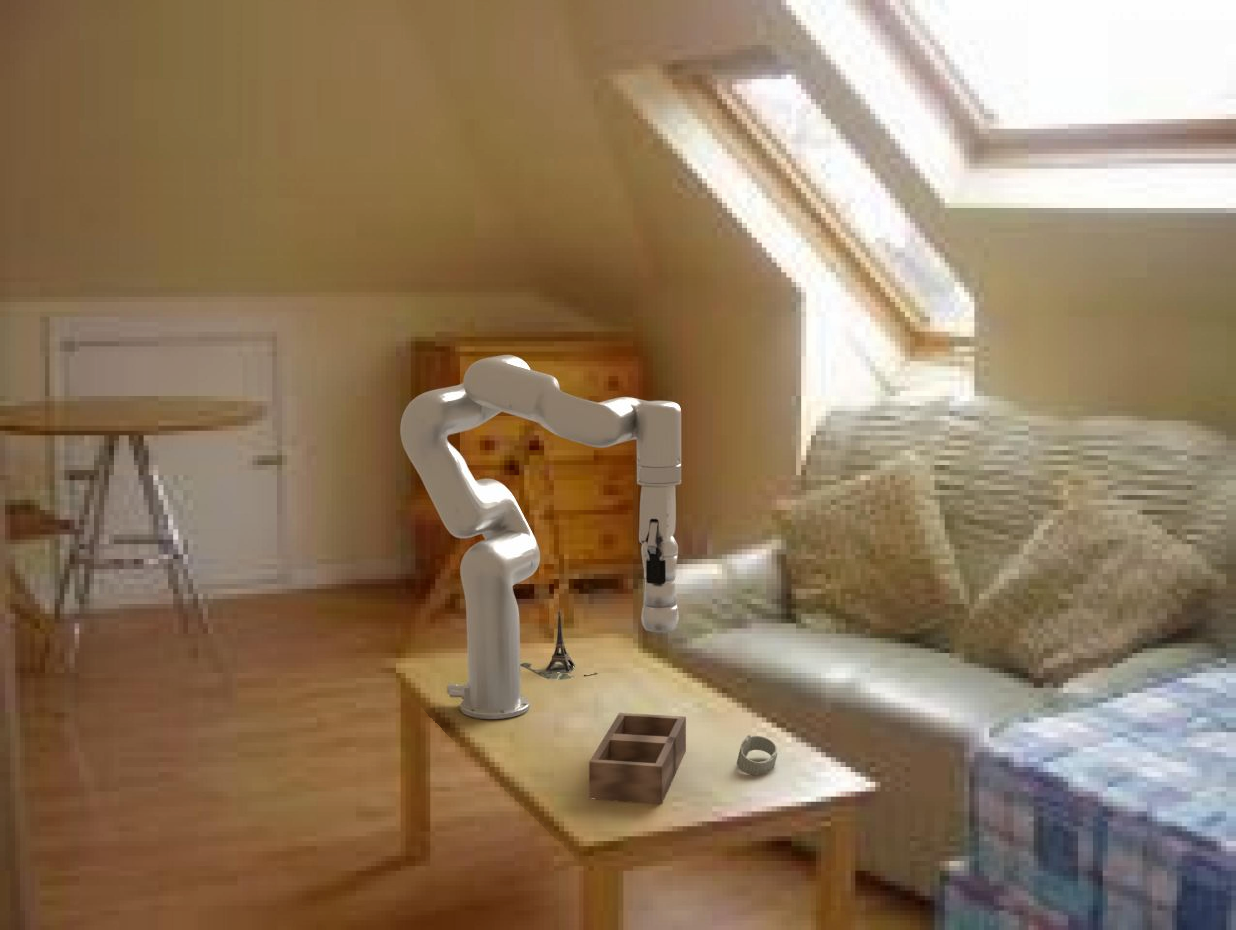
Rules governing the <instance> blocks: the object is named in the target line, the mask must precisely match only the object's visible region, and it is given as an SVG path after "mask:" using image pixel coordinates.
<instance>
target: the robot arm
mask: <svg viewBox="0 0 1236 930" xmlns="http://www.w3.org/2000/svg"><path fill="white" fill-rule="evenodd" d="M462 381H463V382H462V383H460V384H458V385H452V386H447V387H442V388H436V389H433V390H429V391H425V392H423V393H421V394H419V395H417V396H416V397H415V398H414V399H412V400H411V401H410V402H409V403H408V405H407V406H406V408H405V410H404V411H403V413H402V415H401V416H402V417H401V421H400V428H399V429H400V430H399V432H400V438H401V439H400V440H401V443H402V447H403V449H404V451H405V452H406V455H407V457H408V459H409V460H410V463H412V465H413V467H414V468H415V470H416V472H417V474H418V475H419V477H420V479H421V481H422V484H423V486H424V487H425V490H426V492H427V493H428V496H429V497H430V499H431V501H432V503H433V505H434V508H435V509H436V512H437V513H438V515H439V518H440V520H441V521H442V524H443V525H444V527H445V528H446V530H447V531H448V533H450V535H451V536H453V537H455V538H458V539H469V538H472V537H476V536H479V535H482V537H483V538H484V539H483V540H481V541H478V542H476V543H475V544H473V545H472V546H470V547H469V548H468V549H467V550H466V552H465V553H464V555H463V557H462V559H461V562H460V567H459V568H460V569H459V570H460V571H459V573H460V580H461V584H462V589H463V594H464V599H465V600H464V601H465V611H466V617H465V618H466V635H467V636H466V639H467V641H466V642H467V643H466V644H467V669H468V670H467V671H468V672H467V673H468V674H467V675H468V677H467V679H468V682H465V683H464V684H459V683H448V684H447V687H446V691H447V692H446V693H447V694H448V695H449V697H450V698H461V699H462V700H461V702H460V711H461V712H462V714H464V715H466V716H467V717H471V718H475V719H482V720H483V719H484V720H499V719H501V720H502V719H503V720H504V719H509V718H514V717H517V716H520V715H523V714H525V713H526V712H528V710H529V709H530V703H531V702H530V700H529V699H528V697H526V696H525V695H522V685H521V684H522V683H521V674H522V673H521V665H520V664H521V640H520V639H521V637H520V636H521V632H520V629H521V628H520V626H521V625H520V613H519V612H520V610H519V605H518V602H517V599H516V596H515V593H514V589H513V586H514V585H516V584H518V583H520V582H523V581H525V580H527V579H529V578H530V577H531V576H532V575H534V574H535V573H536V571H537V570H538V568H539V566H540V561H541V553H540V552H541V551H540V547H539V544H538V542H537V539H536V537H535V535H534V533H533V531H532V530H531V528H530V525H529V523H528V522H527V519H526V517H525V516H524V513H523V512H522V510H521V508H520V506H519V504H518V502H517V500H516V498H515V497H514V495H513V493H512V492H511V491H510V489H508V488H507V487H506V485H505V484H504V483H502V482H500V481H498V480H496V479H492V478H481V479H475V478H474V475H473V474H472V472H471V471H470V468H469V467H468V465H467V462H466V460H465V458H464V457H463V455H462V454H461V453H460V452H459V451H458V449H457V448H456V447H454V446H453V444H451V443H450V442H449V440H448V436H450V435H454V434H455V435H456V434H458V433H462V432H466V431H470V430H473V429H474V428H475V429H476V428H477V427H479V426H481V425H483V424H484V423H486V422H488V421H489V420H491V419H492V418H494V417H495V416H498V415H499V414H500V413H506V414H509V415H512V416H515V417H519V418H522V419H525V420H529V421H532V422H534V423H535V422H536V423H538V424H539V425H541V427H543V428H544V429H545V430H547V431H548V432H550V433H552V434H554V435H555V436H558V437H560V438H563V439H566V440H569V441H573V442H576V443H580V444H582V445H586V446H589V447H594V448H609V447H612V446H615V445H617V444H621V443H625V442H630V441H633V440H636V484H637V485H639V486H641V490H640V499H639V500H640V501H639V519H638V520H639V522H638V523H639V524H638V525H639V526H638V541H639V543H641V544H642V543H644V542H645V541H646V540H647V538H648V543H647V560H646V582H647V583H651V584H664V583H665V582H666V560H664V546H665V544H666V543H667V542H668V541H669V540H670V538H671V536H673V537H674V535H675V532H676V524H677V523H676V522H677V519H676V517H677V516H676V515H677V514H676V513H677V510H676V509H677V504H676V503H677V502H676V501H677V500H676V499H677V498H676V491H677V490H676V486H678V485H681V484H682V410H681V407H680V405H679V404H678V403H676V402H674V401H669V400H644V399H639V398H636V397H635V398H634V397H628V396H622V397H621V396H619V397H615V398H612V399H610V398H609V399H606V400H603V401H600V402H597V401H591V400H589V399H585V398H581V397H577V396H574V395H571V394H569V393H566V392H564V391H562V390H561V389H560V384H559V381H558V379H557V378H556V377H554V376H553V375H550V374H548V373H544V372H539V371H536V370H533V369H531V368H530V367H529V365H528V364H527V362H526V361H524V360H523V359H522V358H520V357H518V356H517V355H516V356H515V355H513V354H503V355H497V356H492V357H491V356H490V357H485V358H481V359H479V360H477V361H476V360H475V362H473V363H472V364H471V365H469V367H468V368H467V370H466V371H465V374H464V375H463V380H462ZM658 528H659V529H658ZM647 535H648V536H647ZM657 539H662V540H661V541H662V542H657ZM657 546H660V549H659V547H657ZM659 550H660V551H659Z"/></svg>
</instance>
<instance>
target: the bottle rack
mask: <svg viewBox="0 0 1236 930" xmlns="http://www.w3.org/2000/svg"><path fill="white" fill-rule="evenodd" d="M686 725H687V717H686V716H683V715H681V716H680V715H679V716H678V715H666V714H665V715H663V714H647V713H645V714H644V713H629V712H627V713H626V712H618V713H617V715H616V717H615V718H614V720H613V722H612V724H611V725H610V727H609V729H608V730H607V732H606V734H605V735H604V737H603V739H602V740H601V742H600V744H599V745H598V747H597V748H596V750H595V752H594V754H592V757H591V758H590V759H589V760H588V761H589V762H588V769H589V770H588V773H589V774H588V775H589V776H588V777H589V781H588V782H589V785H588V786H589V791H588V792H589V799H590V798H595V799H594V800H599V799H604V800H603V801H614V800H618V801H617V802H628V801H631V803H642V802H643V803H645V804H656V805H657V804H660V805H662V804H663V803H664V801H663V800H665V799H664V798H666V797H667V793H668V791H669V789H670V787H671V785H672V783H673V781H674V778H675V776H676V774H677V771H678V770H679V767H680V765H681V763H682V761H683V758H684V756H685V753H687V732H686V731H687V726H686ZM671 782H672V783H671Z"/></svg>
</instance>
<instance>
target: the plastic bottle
mask: <svg viewBox="0 0 1236 930" xmlns="http://www.w3.org/2000/svg"><path fill="white" fill-rule="evenodd" d="M658 529H659V528H658ZM647 536H648V535H647ZM661 540H662V539H657V542H662V541H661ZM647 543H648V538H647V540H646V541H645V542H644V543H641V548H640V551H641V559H642V567H643V579H644V591H643V592H644V594H643V605H642V608H641V609H642V610H641V615H640V616H641V624H642V627H643V628H644V630H645V631H647V632H649V633H650V632H651V633H655V634H657V633H658V634H662V633H664V634H665V633H670V632H673V631H675V630H676V628H677V627H678V625H679V618H680V615H679V608H678V604H677V594H676V576H677V575H676V573H677V572H676V571H677V570H676V569H677V565H678V564H677V563H678V556H679V555H678V554H679V546H678V542H677V541H676V539H675V537H674V535H673V536H671V538H670V540H669V541H668V542H667V543H666V544H665V546H664V560H666V582H665V583H664V584H651V583H647V582H646V560H647ZM657 547H659V549H660V546H657ZM659 551H660V550H659Z"/></svg>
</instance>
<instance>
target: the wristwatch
mask: <svg viewBox="0 0 1236 930" xmlns="http://www.w3.org/2000/svg"><path fill="white" fill-rule="evenodd" d="M777 750H778V749H777V745H776V743H774V742H773V740H771V739H769V738H767V737H766V736H763V735H762V736H761V735H753V736H751V735H749V734H748V735H747V736H746V737H745V738H744V739H743V741H742V742H741V745H740V749H739V751H738V755H737V760H736V765H737V768H738V770H739V771H741V772H742V773H744V774H746V775H751V776H757V775H762V774H766V773H768V772H769V771H770V770H772V769H773V767H775V765H776V762H777V758H778V752H777ZM751 751H761V752H762V751H763V752H765V753H767V754H768V755H770V757H769V758H768V759H766V760H763V761H762V760H761V761H754V760H751V759H749V758H748V755H749V752H751Z"/></svg>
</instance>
